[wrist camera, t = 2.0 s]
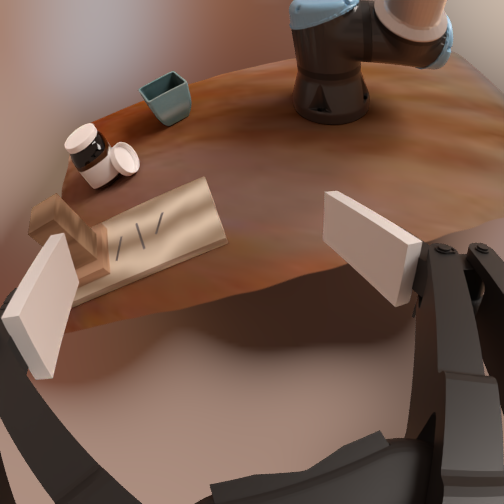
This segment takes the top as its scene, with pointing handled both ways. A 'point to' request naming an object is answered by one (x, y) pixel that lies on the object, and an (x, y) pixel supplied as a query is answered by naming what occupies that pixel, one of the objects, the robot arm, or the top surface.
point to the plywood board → (158, 237)
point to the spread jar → (100, 157)
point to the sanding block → (72, 237)
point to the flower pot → (168, 98)
